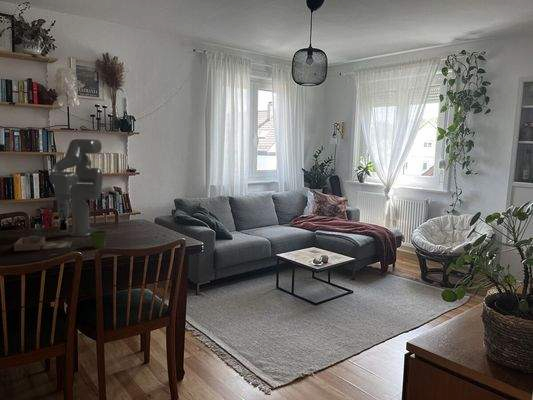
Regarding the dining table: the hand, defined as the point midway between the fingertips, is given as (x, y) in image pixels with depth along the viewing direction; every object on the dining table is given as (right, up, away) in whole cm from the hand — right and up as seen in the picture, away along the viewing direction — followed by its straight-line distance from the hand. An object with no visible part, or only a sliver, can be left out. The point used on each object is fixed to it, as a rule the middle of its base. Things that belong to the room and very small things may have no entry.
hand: (64, 228), depth 222 cm
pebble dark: (-14, -9, -6) cm, 18 cm away
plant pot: (+19, -10, 0) cm, 22 cm away
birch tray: (-3, -10, -1) cm, 10 cm away
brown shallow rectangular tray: (-15, -10, -5) cm, 19 cm away
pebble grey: (0, -1, 0) cm, 1 cm away
